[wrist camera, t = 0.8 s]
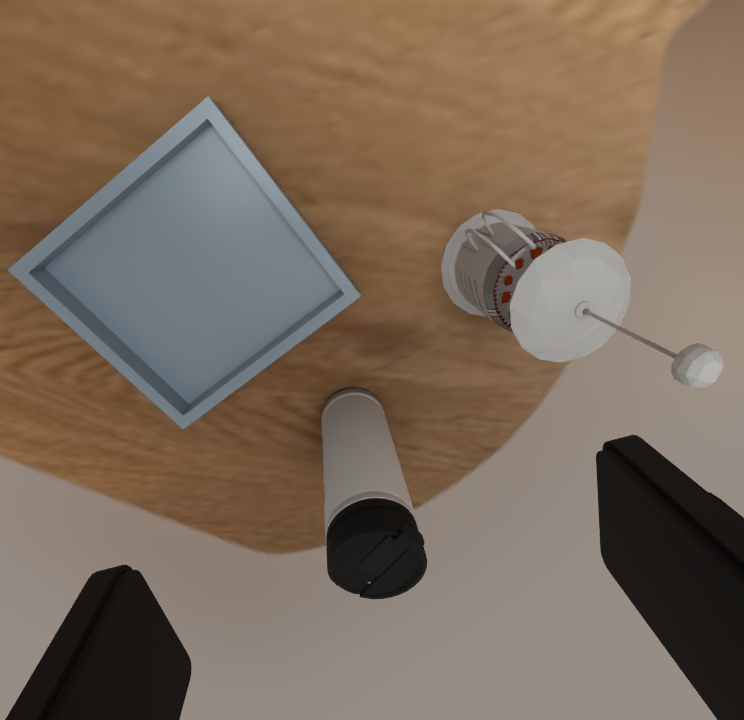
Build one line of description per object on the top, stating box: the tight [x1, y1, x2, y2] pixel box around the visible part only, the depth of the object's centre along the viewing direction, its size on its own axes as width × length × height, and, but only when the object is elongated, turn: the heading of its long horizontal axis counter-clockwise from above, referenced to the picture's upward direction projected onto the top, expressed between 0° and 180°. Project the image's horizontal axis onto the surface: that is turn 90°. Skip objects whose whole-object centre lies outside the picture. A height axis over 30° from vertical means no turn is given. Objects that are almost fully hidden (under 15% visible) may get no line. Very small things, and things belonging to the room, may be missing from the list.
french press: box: [441, 209, 723, 388], centre depth 30 cm, size 10×12×25 cm
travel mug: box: [321, 388, 427, 599], centre depth 37 cm, size 6×7×20 cm
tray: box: [8, 96, 361, 429], centre depth 38 cm, size 20×18×3 cm
